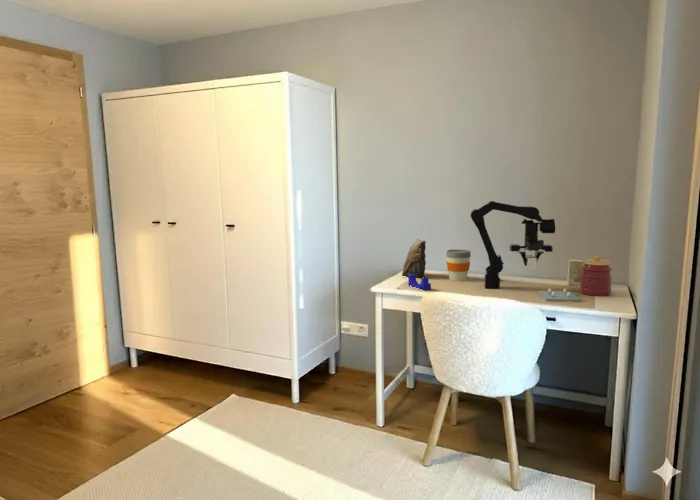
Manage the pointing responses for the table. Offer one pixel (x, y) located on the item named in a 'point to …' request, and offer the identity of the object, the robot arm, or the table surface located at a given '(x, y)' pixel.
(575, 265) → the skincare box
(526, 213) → the robot arm
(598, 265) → the canister
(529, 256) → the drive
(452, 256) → the reusable coffee cup
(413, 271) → the brown tall pointed piece
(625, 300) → the table surface
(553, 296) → the pin tray
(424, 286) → the cable clip
